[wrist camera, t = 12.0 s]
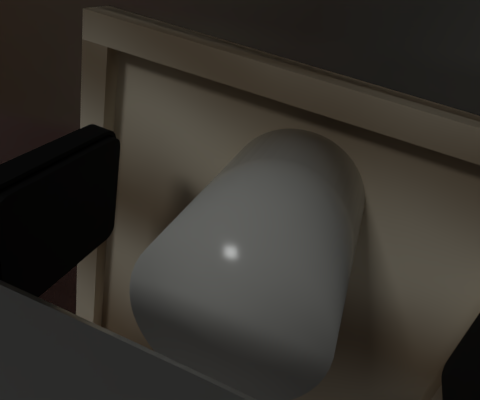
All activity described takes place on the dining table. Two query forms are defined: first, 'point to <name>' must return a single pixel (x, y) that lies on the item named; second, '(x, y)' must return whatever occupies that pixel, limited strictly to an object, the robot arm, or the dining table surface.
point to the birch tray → (291, 117)
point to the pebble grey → (257, 268)
